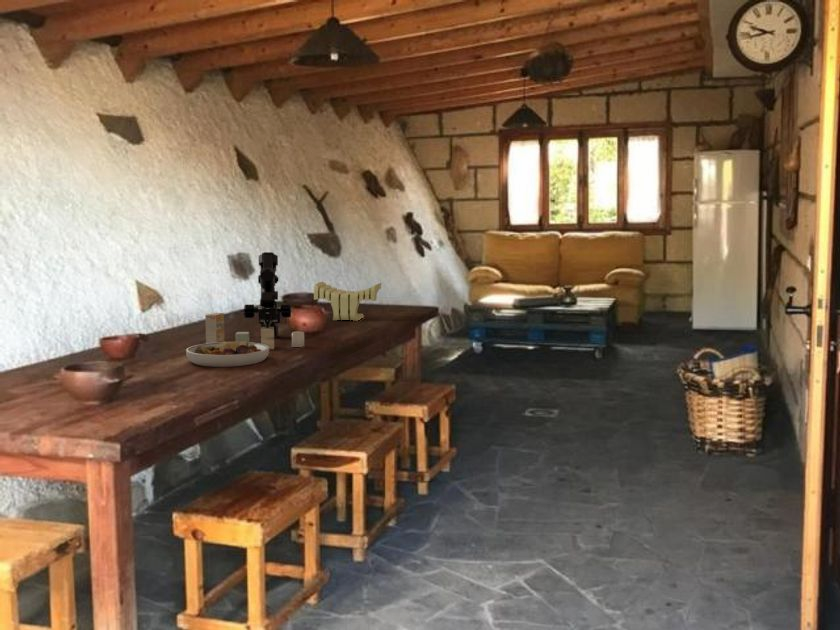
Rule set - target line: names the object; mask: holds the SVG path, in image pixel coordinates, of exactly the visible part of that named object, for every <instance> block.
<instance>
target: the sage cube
mask: <svg viewBox="0 0 840 630" xmlns="http://www.w3.org/2000/svg"><path fill="white" fill-rule="evenodd" d="M234 335H235V336H234V337H235V342H242V341H247V342H250V331H236V333H235V334H234Z"/></svg>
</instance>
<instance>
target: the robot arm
mask: <svg viewBox="0 0 840 630" xmlns="http://www.w3.org/2000/svg"><path fill="white" fill-rule="evenodd" d="M278 257H279V256H278V255H277V254H275V253H274V252H272V251H269V252H268V251H267V252H265V251H263V252H262V253H261V254H259V255H258V266H259V267H260V268H259V269H260V271H259V275H258V277H257V281H258V284H259V285H260V299H259V305H260V306H258V307H255V305H254V304H244V306H243V315H244V318H246V319H252V318H253V319H254V318H255V314H258V324H260V328H261V327H266V328H269V327H274V339H275V338H277V337H279V326H278V324H279V323H281V317H283V318H291V317H292V305H291V304H290V303H281V304H280V307H279V306H278V304H277V300H279V291H277V290H276V288H275V287H276V284H278V282H279V277H278V275H277V274H276V272H277V266H279V263H278V262H279V261H278V260H279V258H278ZM259 338H260V339H261V335H260V336H259Z"/></svg>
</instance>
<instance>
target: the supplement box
mask: <svg viewBox="0 0 840 630" xmlns="http://www.w3.org/2000/svg"><path fill="white" fill-rule="evenodd" d="M204 318H205V319H204V320H205V344H207V343H217V342H225V312H213V313H208V314H206V315H205V317H204Z"/></svg>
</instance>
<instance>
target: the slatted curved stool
mask: <svg viewBox="0 0 840 630" xmlns="http://www.w3.org/2000/svg"><path fill="white" fill-rule="evenodd" d="M381 289H382V282H379V283H376V284H375V285H373V286H371V287H368V288H366V289H362V290H361V289H360V290H356V291H353V290H352V291H351V290H343V289H340V288H339V289H338V288H337V287H334V286H333V287H332V285H330V284H327V283H326V282H324V281H319V282H317V283H315V284H314V286H313V300H314V301H315V300H324V299H325V300H326V301H328V302H330V305H331V309H332V312H333V313H332V314H333V317H332V321H337V320H341V321H342V320H350V321H351V320H353V321H352V322H359V321H358V320H360V319H361V318H363V317H365V316H364V314H363V313H358V308H359V305H360V302H362V301H364V300H365V301H366V300H367V301H369V300H370V301H372V302H375V301H377V295H378V292H379V291H380V290H381ZM363 319H364V318H363ZM360 321H361V320H360Z"/></svg>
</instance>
